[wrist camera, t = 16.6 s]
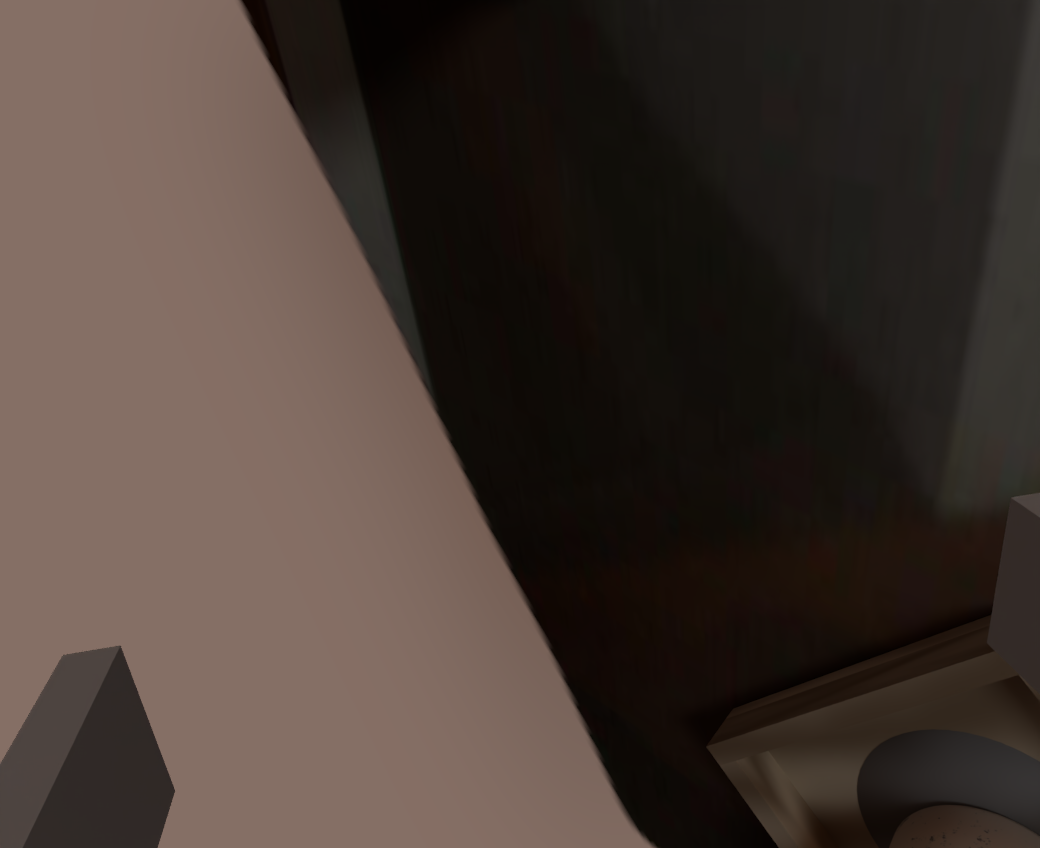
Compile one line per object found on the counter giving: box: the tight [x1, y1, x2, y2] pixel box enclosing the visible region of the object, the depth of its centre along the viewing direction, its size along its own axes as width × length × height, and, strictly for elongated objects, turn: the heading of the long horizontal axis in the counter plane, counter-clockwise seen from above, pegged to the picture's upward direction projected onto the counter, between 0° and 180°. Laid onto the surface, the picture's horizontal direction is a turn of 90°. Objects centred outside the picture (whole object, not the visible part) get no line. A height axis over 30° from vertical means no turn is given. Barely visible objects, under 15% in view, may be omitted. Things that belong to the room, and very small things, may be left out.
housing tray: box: [706, 615, 1040, 848], centre depth 38 cm, size 18×18×4 cm
